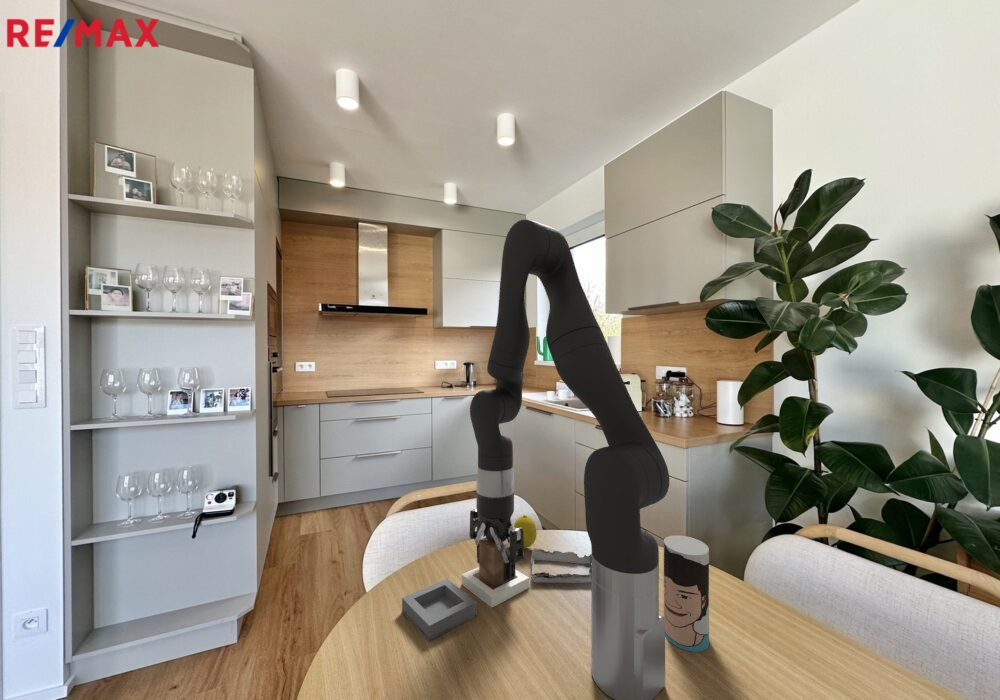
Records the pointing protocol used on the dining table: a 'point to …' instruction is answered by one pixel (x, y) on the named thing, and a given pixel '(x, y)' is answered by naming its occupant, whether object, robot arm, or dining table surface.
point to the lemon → (527, 529)
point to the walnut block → (491, 564)
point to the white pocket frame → (496, 595)
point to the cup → (686, 592)
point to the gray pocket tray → (438, 608)
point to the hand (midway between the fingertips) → (495, 570)
